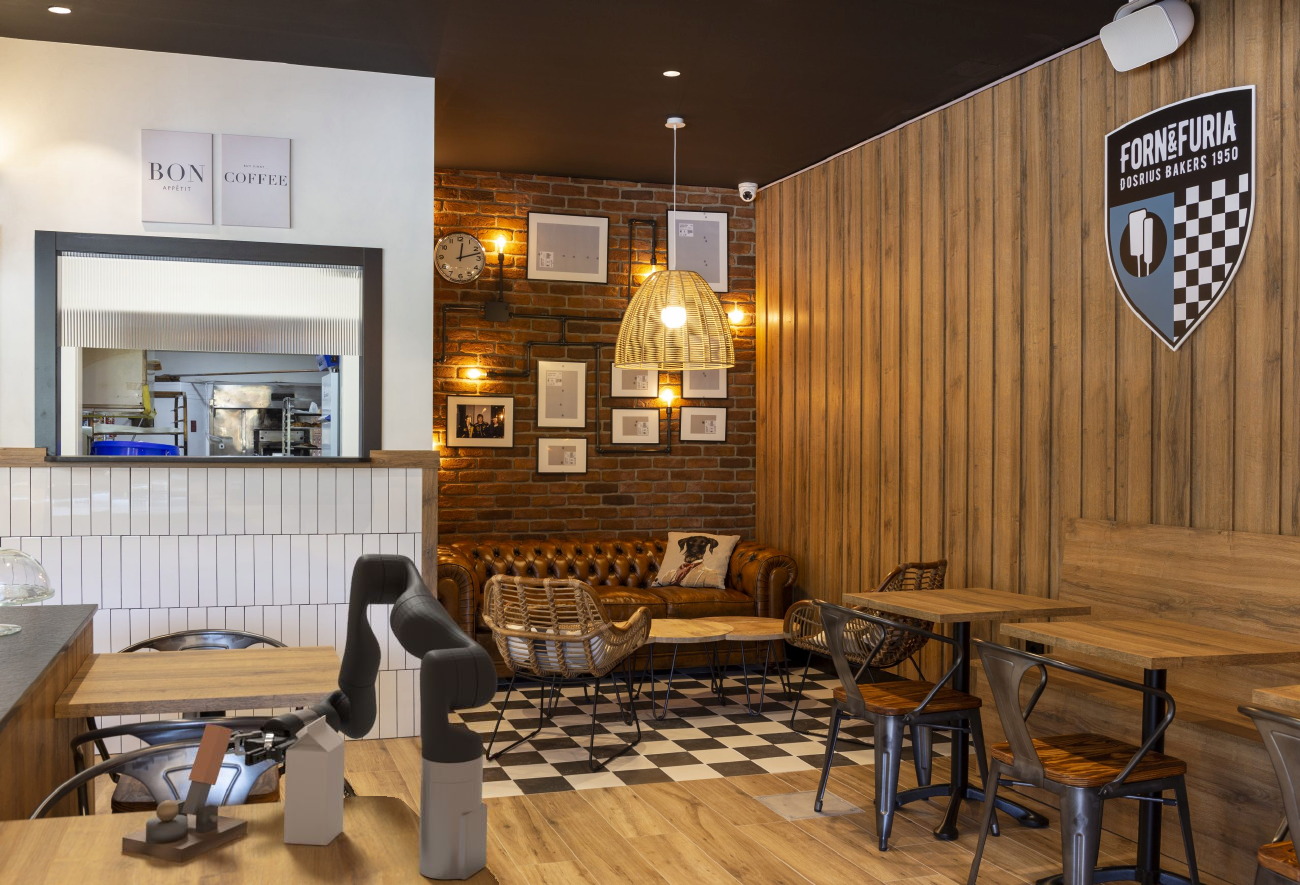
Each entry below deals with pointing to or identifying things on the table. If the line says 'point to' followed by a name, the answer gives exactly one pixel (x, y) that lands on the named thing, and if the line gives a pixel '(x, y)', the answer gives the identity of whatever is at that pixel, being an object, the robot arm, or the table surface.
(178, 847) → the base
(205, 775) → the lever
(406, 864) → the table surface
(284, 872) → the table surface
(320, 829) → the milk carton
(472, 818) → the robot arm
